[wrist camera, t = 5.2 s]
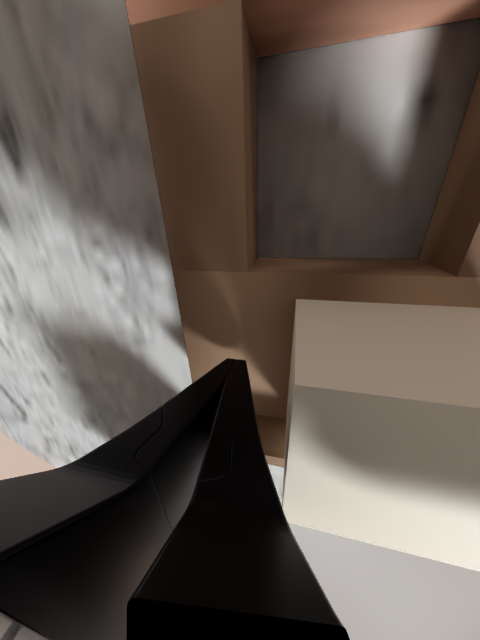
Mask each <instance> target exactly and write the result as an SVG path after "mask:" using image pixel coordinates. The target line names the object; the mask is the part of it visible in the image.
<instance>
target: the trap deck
mask: <svg viewBox="0 0 480 640" xmlns="http://www.w3.org/2000/svg"><path fill="white" fill-rule="evenodd" d="M125 2H126V7H127V13H128V19H129V24H130V30H131V36H132V41H133V47H134V53H135V59H136V64H137V70H138V76H139V81H140V87H141V93H142V99H143V104H144V110H145V116H146V121H147V127H148V133H149V138H150V144H151V150H152V156H153V161H154V167H155V173H156V178H157V184H158V190H159V195H160V201H161V207H162V213H163V218H164V224H165V230H166V235H167V241H168V247H169V252H170V258H171V264H172V270H173V275H174V281H175V287H176V292H177V298H178V304H179V309H180V315H181V321H182V327H183V332H184V338H185V344H186V349H187V355H188V361H189V367H190V372H191V378H192V383H194V382H195V381H196V380H198V379H199V378H200V377H202V376H203V375H205V374H206V373H207V372H209V371H210V370H211V369H213V368H214V367H215V366H217V365H218V364H220V363H221V362H222V361H224V360H225V359H227V358H231V359H236V360H237V359H240V360H246V363H247V368H248V374H249V379H250V385H251V391H252V396H253V402H254V407H255V413H256V419H257V424H258V429H259V434H260V439H261V444H262V448H263V451H264V454H265V458H266V461H267V464H270V465H275V466H280V467H284V460H285V440H286V420H287V402H288V390H289V378H290V366H291V354H292V342H293V330H294V318H295V306H296V299H306V300H327V301H348V302H369V303H390V304H410V305H431V306H452V307H473V308H480V70H479V73H478V76H477V79H476V82H475V85H474V88H473V92H472V95H471V98H470V101H469V104H468V107H467V110H466V113H465V116H464V120H463V123H462V126H461V129H460V132H459V135H458V138H457V141H456V144H455V148H454V151H453V154H452V157H451V160H450V163H449V166H448V169H447V172H446V176H445V179H444V182H443V185H442V188H441V191H440V194H439V197H438V200H437V204H436V207H435V210H434V213H433V216H432V219H431V222H430V225H429V228H428V232H427V235H426V238H425V241H424V244H423V247H422V250H421V253H420V256H419V259H342V258H258V58H259V57H265V56H270V55H276V54H281V53H287V52H292V51H298V50H303V49H309V48H314V47H320V46H325V45H331V44H336V43H342V42H347V41H353V40H358V39H363V38H369V37H374V36H380V35H385V34H391V33H396V32H402V31H407V30H413V29H418V28H424V27H429V26H435V25H440V24H446V23H451V22H457V21H462V20H468V19H473V18H479V17H480V0H125Z"/></svg>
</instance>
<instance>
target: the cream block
mask: <svg viewBox="0 0 480 640" xmlns="http://www.w3.org/2000/svg"><path fill="white" fill-rule="evenodd" d="M282 508H283V511H284V514H285V517H286V519H287V522H288V523H292V524H296V525H300V526H304V527H308V528H312V529H315V530H319V531H323V532H327V533H331V534H335V535H339V536H343V537H347V538H350V539H354V540H358V541H362V542H366V543H370V544H374V545H378V546H382V547H385V548H389V549H394V550H397V551H401V552H405V553H409V554H413V555H417V556H421V557H425V558H428V559H433V560H437V561H440V562H444V563H448V564H452V565H456V566H459V567H463V568H467V569H471V570H475V571H479V572H480V308H473V307H452V306H431V305H410V304H390V303H369V302H348V301H327V300H306V299H296V306H295V318H294V330H293V342H292V354H291V366H290V378H289V390H288V402H287V420H286V440H285V460H284V480H283V499H282Z"/></svg>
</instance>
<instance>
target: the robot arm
mask: <svg viewBox="0 0 480 640" xmlns="http://www.w3.org/2000/svg"><path fill="white" fill-rule="evenodd" d="M0 640H350V639H349V636H348V634H347V631H346V629H345V628H344V626H343V625H342V623H341V621H340V620H339V619H338V617H337V615H336V614H335V612H334V610H333V608H332V606H331V604H330V603H329V601H328V599H327V597H326V595H325V593H324V591H323V590H322V588H321V586H320V584H319V582H318V580H317V579H316V576H315V575H314V573H313V571H312V569H311V567H310V565H309V563H308V562H307V560H306V558H305V556H304V554H303V552H302V550H301V549H300V547H299V545H298V543H297V541H296V539H295V537H294V535H293V533H292V531H291V529H290V527H289V524H288V522H287V519H286V517H285V514H284V511H283V508H282V506H281V503H280V500H279V497H278V494H277V491H276V488H275V485H274V482H273V479H272V476H271V473H270V470H269V467H268V464H267V461H266V458H265V454H264V451H263V448H262V444H261V439H260V434H259V429H258V424H257V419H256V413H255V407H254V402H253V396H252V391H251V385H250V379H249V374H248V368H247V363H246V360H240V359H237V360H236V359H231V358H227V359H225V360H224V361H222V362H221V363H220V364H218V365H217V366H215V367H214V368H213V369H211V370H210V371H209V372H207V373H206V374H205V375H203V376H202V377H200V378H199V379H198V380H196V381H195V382H194V383H192V384H191V385H189V386H188V387H187V388H185V389H184V390H183V391H181V392H180V393H178V394H177V395H176V396H174V397H173V398H172V399H170V400H169V401H168V402H166V403H165V404H163V407H162V406H161V407H159V408H158V409H156V410H155V411H154V412H152V413H151V414H149V415H148V416H147V417H145V418H144V419H142V420H141V421H139V422H138V423H136V424H135V425H133V426H132V427H130V428H129V429H127V430H125V431H124V432H122V433H121V434H119V435H117V436H116V437H114V438H112V439H111V440H109V441H108V442H106V443H104V444H103V445H101V446H99V447H98V448H96V449H95V450H93V451H91V452H90V453H88V454H86V455H85V456H83V457H81V458H80V459H78V460H76V461H74V462H72V463H70V464H68V465H65V466H63V467H60V468H56V469H53V470H49V471H44V472H39V473H34V474H29V475H24V476H19V477H14V478H10V479H5V480H0Z"/></svg>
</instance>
